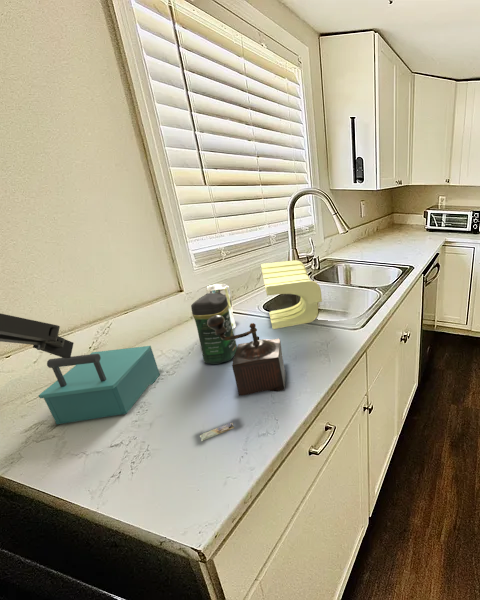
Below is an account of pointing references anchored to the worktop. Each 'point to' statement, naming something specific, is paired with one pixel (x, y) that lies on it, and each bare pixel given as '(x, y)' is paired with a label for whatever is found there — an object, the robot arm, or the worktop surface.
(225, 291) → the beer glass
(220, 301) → the coffee jar
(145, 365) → the lunchbox
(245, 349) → the manual coffee grinder
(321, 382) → the worktop surface
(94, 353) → the lunchbox lid
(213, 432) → the granola bar
